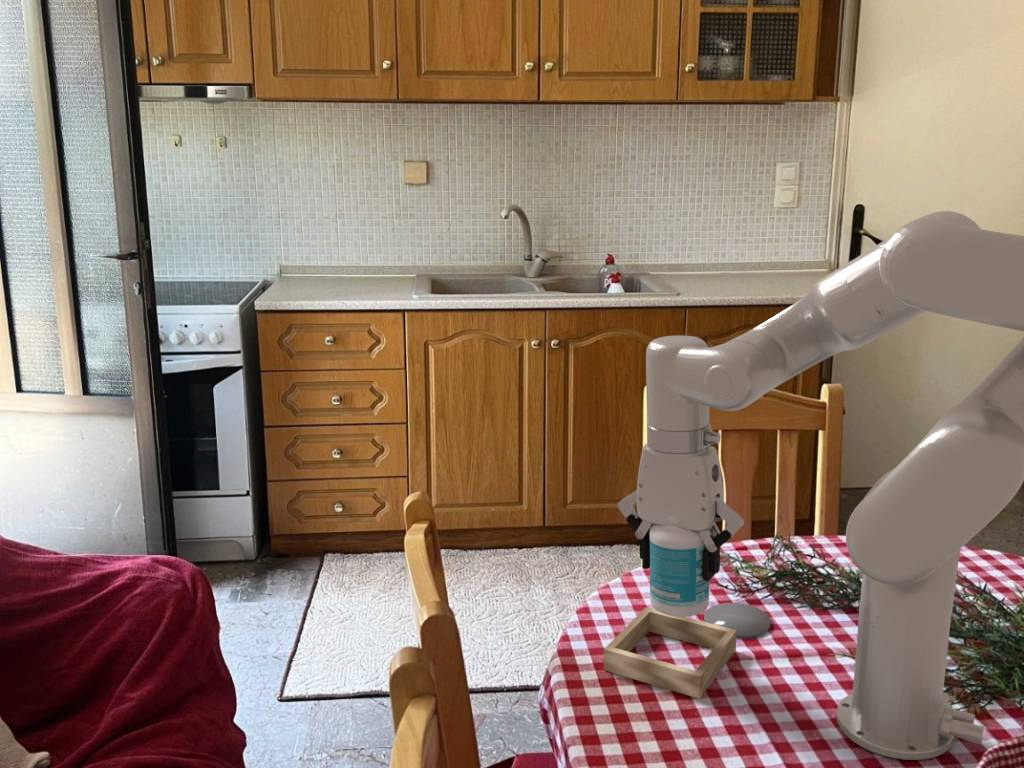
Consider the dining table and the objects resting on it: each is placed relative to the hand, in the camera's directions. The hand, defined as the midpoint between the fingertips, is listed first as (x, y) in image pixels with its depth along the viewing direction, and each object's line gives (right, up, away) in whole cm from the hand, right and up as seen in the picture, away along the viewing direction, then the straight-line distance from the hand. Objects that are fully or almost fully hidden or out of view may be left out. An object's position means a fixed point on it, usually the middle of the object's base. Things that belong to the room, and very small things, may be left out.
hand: (679, 570), depth 126 cm
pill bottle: (0, -5, +1) cm, 5 cm away
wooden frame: (-1, -13, +4) cm, 13 cm away
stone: (+10, -10, +13) cm, 19 cm away
